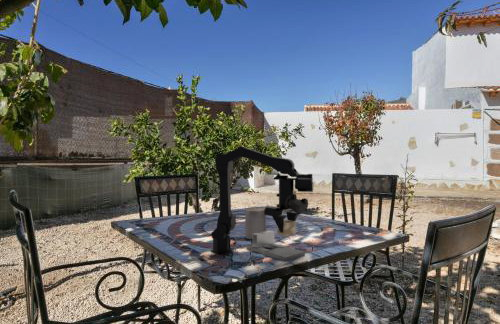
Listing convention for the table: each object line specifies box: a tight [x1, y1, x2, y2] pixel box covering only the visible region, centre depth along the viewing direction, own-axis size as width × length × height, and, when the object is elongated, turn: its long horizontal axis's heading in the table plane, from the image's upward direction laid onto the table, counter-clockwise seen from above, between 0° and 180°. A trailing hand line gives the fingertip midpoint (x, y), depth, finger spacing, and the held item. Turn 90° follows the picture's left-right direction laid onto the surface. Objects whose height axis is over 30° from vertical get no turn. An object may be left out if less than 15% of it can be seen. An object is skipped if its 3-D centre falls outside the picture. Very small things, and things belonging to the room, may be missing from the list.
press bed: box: [245, 243, 306, 262], centre depth 145 cm, size 11×22×2 cm, turn 42°
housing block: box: [276, 219, 297, 237], centre depth 139 cm, size 5×5×5 cm
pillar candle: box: [244, 205, 267, 240], centre depth 171 cm, size 10×10×15 cm
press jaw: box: [251, 230, 275, 248], centre depth 149 cm, size 10×3×5 cm, turn 131°
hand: (286, 231), depth 140 cm, fingers closed on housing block, 5 cm apart
